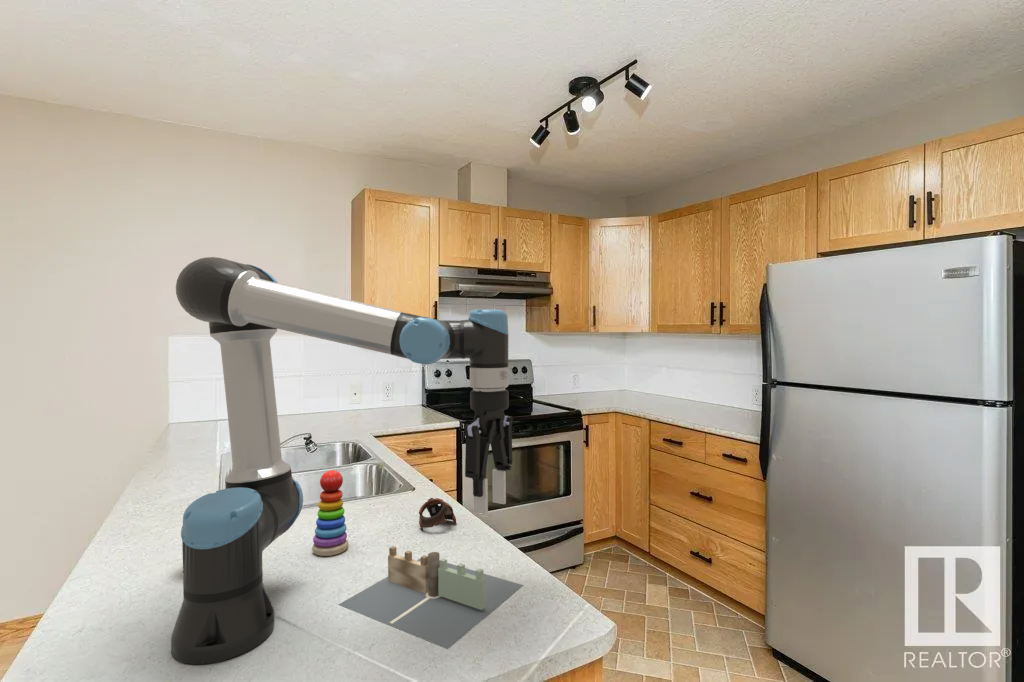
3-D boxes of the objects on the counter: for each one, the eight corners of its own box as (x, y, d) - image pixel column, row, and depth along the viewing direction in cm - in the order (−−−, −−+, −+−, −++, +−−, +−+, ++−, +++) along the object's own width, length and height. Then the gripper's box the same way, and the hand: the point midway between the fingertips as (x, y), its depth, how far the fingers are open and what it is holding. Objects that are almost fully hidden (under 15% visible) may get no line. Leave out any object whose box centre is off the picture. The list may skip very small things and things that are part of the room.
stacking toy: (336, 558, 116) (335, 476, 115) (305, 556, 117) (304, 474, 117) (354, 544, 123) (353, 467, 123) (324, 542, 125) (323, 465, 125)
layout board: (447, 652, 81) (447, 648, 81) (338, 607, 95) (338, 603, 95) (523, 587, 102) (523, 584, 102) (424, 558, 115) (424, 555, 115)
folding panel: (438, 595, 97) (438, 559, 97) (442, 592, 98) (442, 557, 98) (481, 610, 92) (481, 572, 92) (485, 607, 93) (485, 569, 93)
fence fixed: (442, 593, 99) (441, 553, 99) (434, 598, 97) (434, 557, 97) (394, 577, 105) (393, 539, 105) (386, 581, 104) (386, 543, 103)
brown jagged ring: (464, 529, 134) (454, 507, 130) (432, 550, 131) (421, 528, 127) (447, 504, 144) (437, 483, 140) (417, 524, 141) (406, 502, 137)
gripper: (477, 395, 89) (478, 526, 90) (529, 385, 105) (530, 497, 106) (443, 392, 93) (444, 518, 94) (499, 383, 109) (500, 491, 110)
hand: (490, 507), depth 100 cm, fingers open, 6 cm apart
